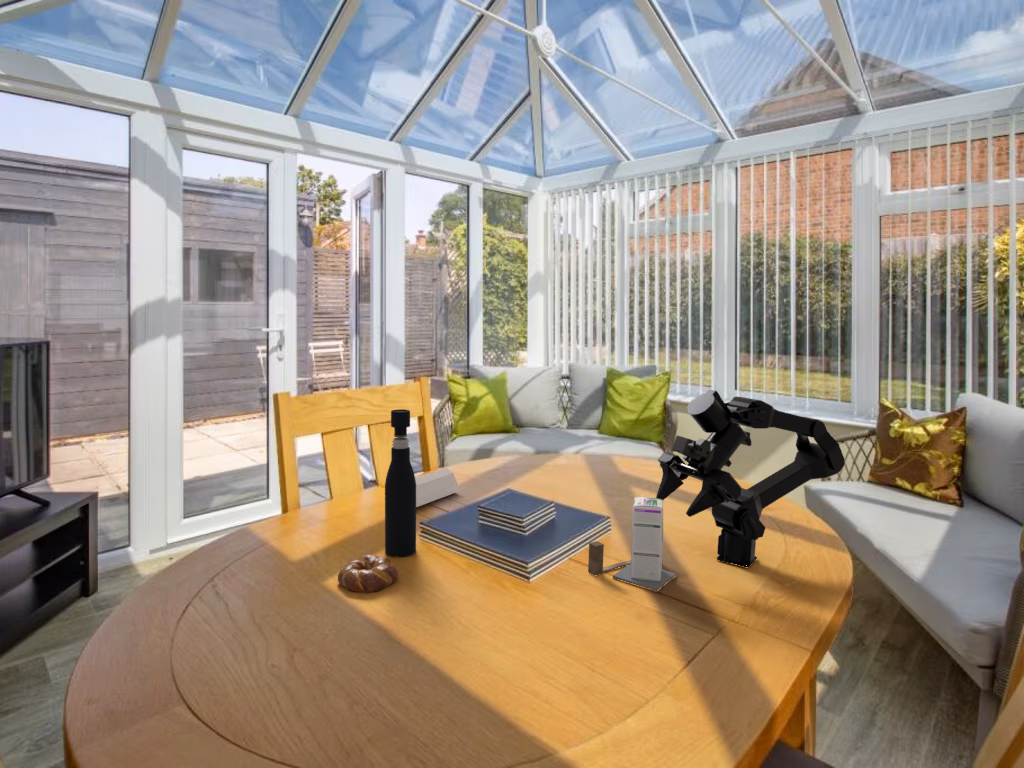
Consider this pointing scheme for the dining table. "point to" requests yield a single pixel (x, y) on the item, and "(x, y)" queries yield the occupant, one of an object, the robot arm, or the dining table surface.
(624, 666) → the dining table surface
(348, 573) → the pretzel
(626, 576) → the slate tile
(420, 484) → the crystal
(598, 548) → the gate
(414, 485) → the black water bottle
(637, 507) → the syrup box
